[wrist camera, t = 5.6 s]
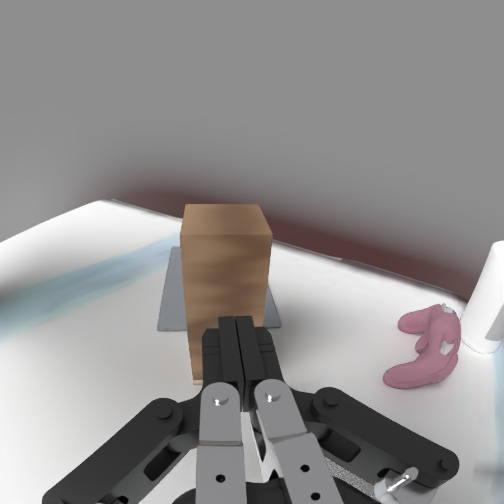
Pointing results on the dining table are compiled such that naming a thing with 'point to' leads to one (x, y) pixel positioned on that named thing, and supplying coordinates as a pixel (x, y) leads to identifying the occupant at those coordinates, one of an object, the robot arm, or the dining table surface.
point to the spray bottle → (486, 306)
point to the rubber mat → (174, 304)
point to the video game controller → (428, 347)
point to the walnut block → (222, 268)
